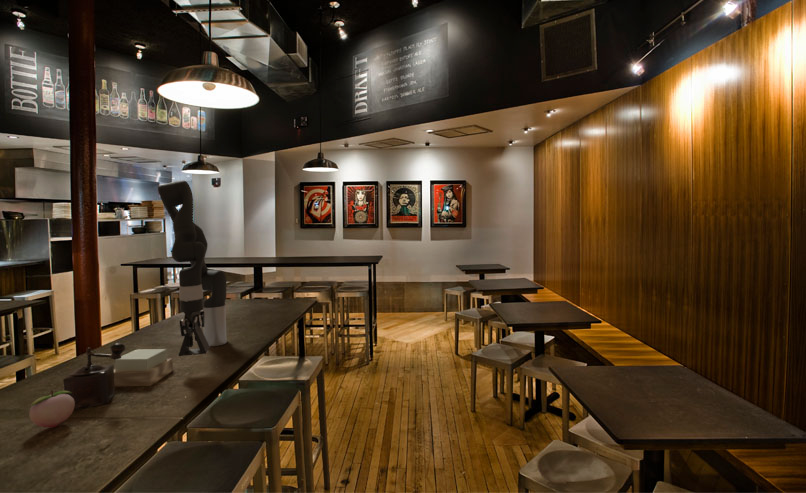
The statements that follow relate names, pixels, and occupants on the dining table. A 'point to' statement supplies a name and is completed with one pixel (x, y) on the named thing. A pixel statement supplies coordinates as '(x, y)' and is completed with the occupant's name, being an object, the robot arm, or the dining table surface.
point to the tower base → (143, 375)
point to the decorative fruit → (52, 409)
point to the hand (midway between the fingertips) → (194, 343)
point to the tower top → (141, 360)
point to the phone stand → (200, 341)
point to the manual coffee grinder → (93, 380)
